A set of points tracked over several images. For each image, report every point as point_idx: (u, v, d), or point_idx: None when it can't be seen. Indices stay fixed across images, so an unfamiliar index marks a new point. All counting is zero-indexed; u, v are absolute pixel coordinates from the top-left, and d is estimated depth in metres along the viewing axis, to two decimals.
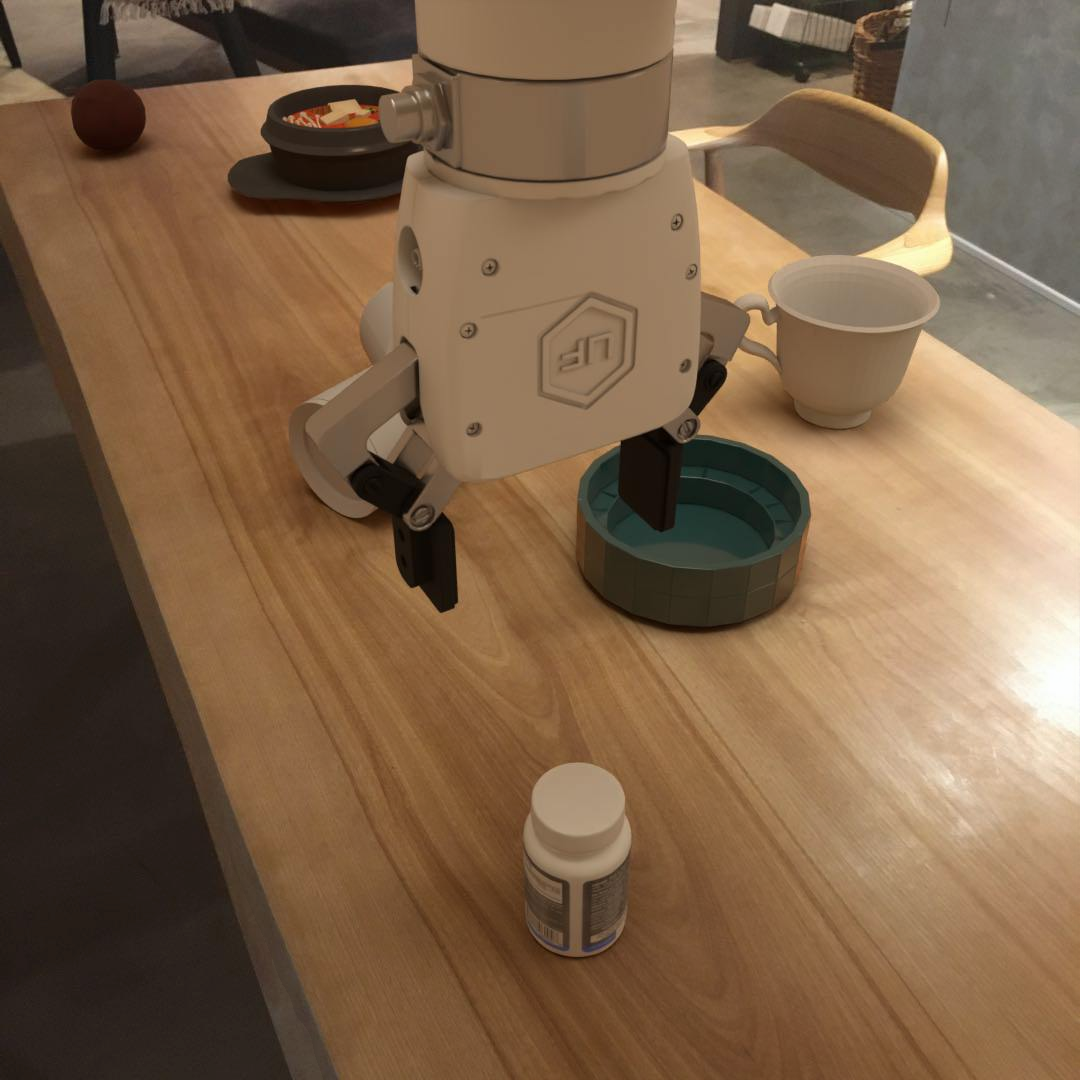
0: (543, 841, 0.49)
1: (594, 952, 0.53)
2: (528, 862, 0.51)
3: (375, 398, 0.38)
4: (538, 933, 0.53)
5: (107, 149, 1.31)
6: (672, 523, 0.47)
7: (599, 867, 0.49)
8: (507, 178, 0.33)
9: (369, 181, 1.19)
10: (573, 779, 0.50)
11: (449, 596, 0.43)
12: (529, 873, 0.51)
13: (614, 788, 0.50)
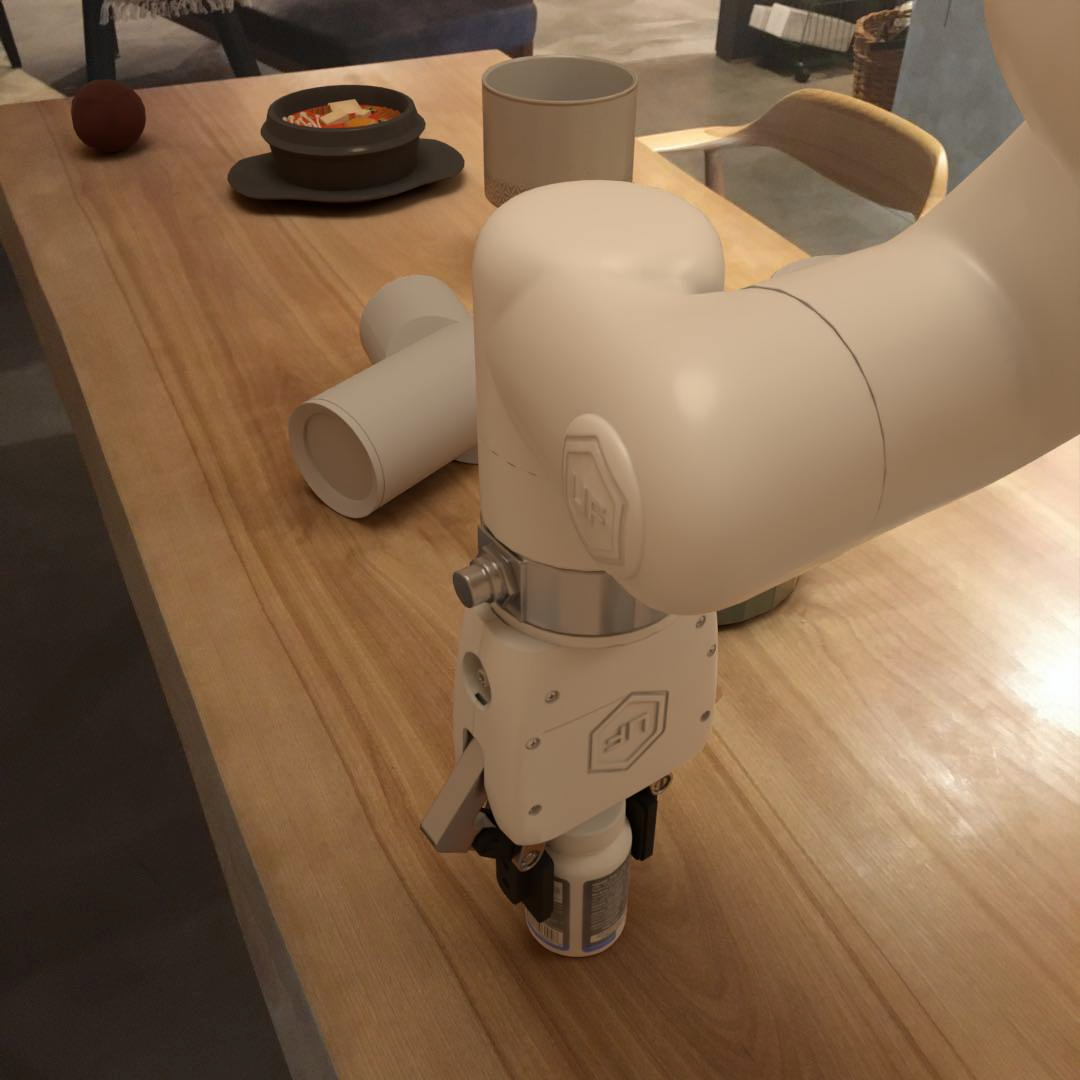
0: None
1: (594, 952, 0.53)
2: None
3: (466, 801, 0.44)
4: (538, 932, 0.53)
5: (107, 149, 1.31)
6: (650, 853, 0.53)
7: (600, 867, 0.49)
8: (567, 634, 0.39)
9: (369, 181, 1.19)
10: None
11: (547, 910, 0.50)
12: None
13: None
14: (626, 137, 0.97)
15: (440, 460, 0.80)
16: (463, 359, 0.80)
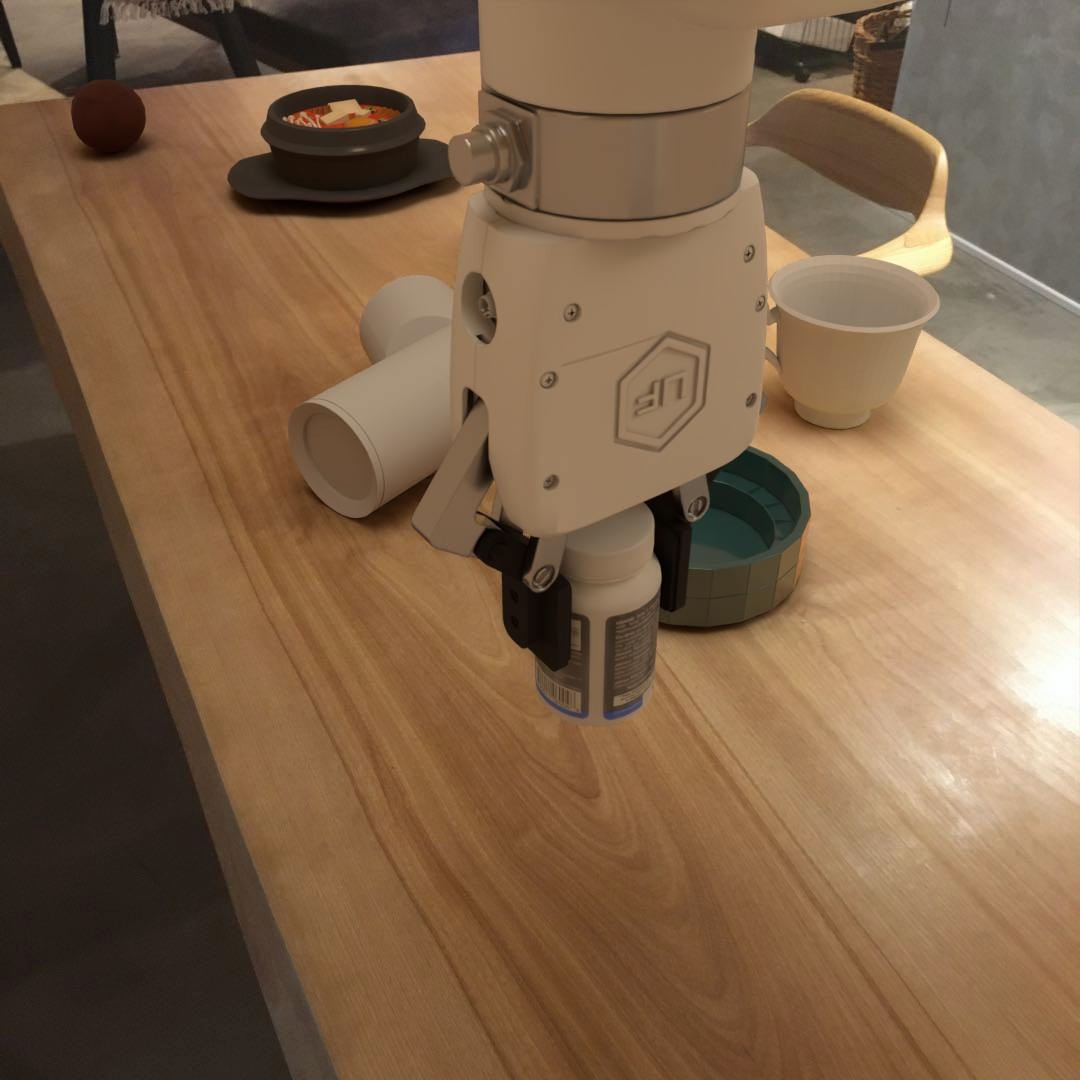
0: None
1: (617, 720, 0.45)
2: None
3: (467, 479, 0.36)
4: (552, 699, 0.45)
5: (107, 149, 1.31)
6: (683, 602, 0.45)
7: (625, 599, 0.42)
8: (591, 218, 0.31)
9: (369, 181, 1.19)
10: None
11: (563, 654, 0.42)
12: None
13: (641, 510, 0.42)
14: None
15: (440, 460, 0.80)
16: None
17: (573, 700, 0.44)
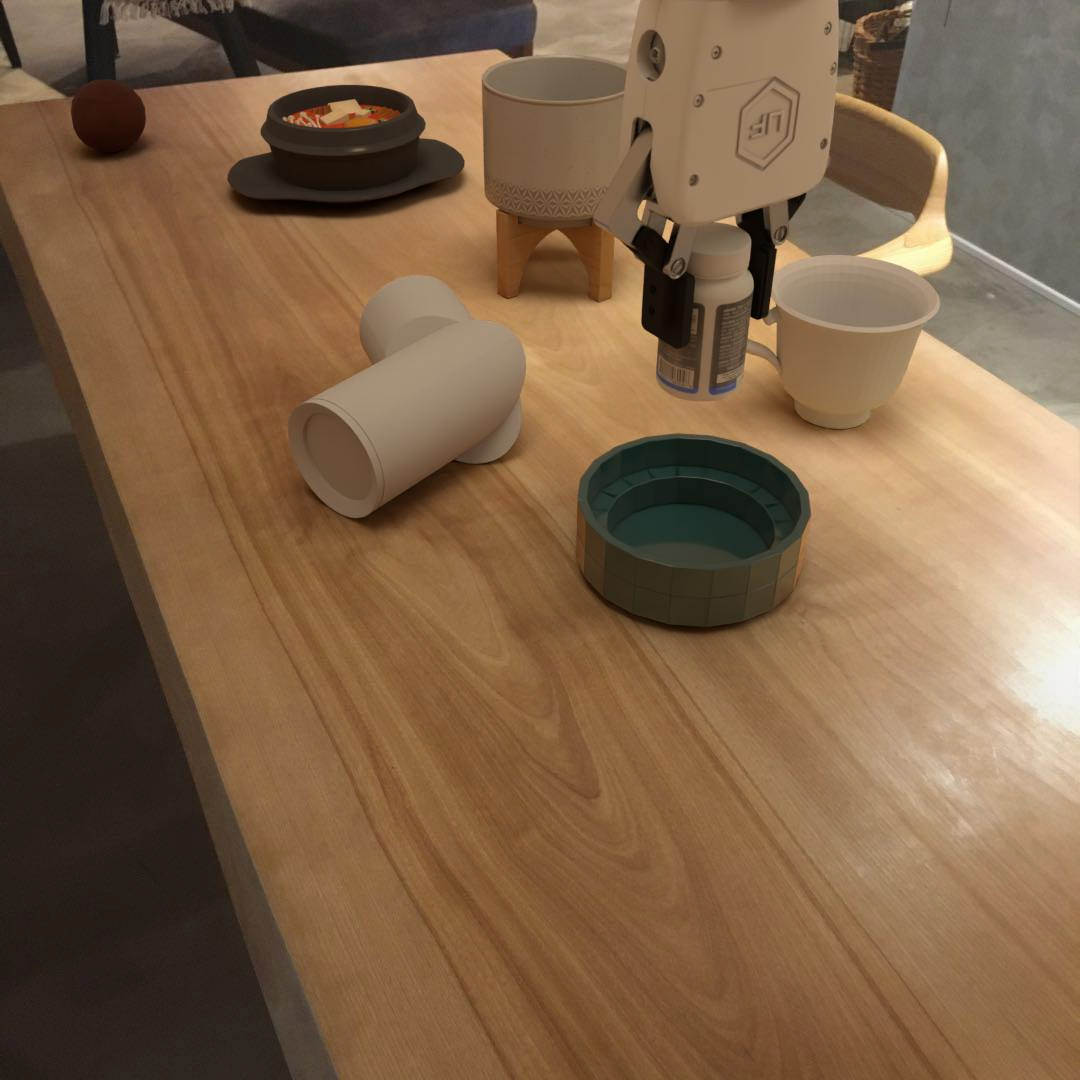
0: None
1: (718, 396, 0.62)
2: None
3: (635, 182, 0.54)
4: (671, 381, 0.63)
5: (107, 149, 1.31)
6: (767, 312, 0.62)
7: (730, 292, 0.59)
8: None
9: (369, 181, 1.19)
10: (706, 229, 0.60)
11: (686, 334, 0.60)
12: None
13: (741, 233, 0.60)
14: None
15: (440, 460, 0.80)
16: (463, 359, 0.80)
17: (687, 378, 0.62)
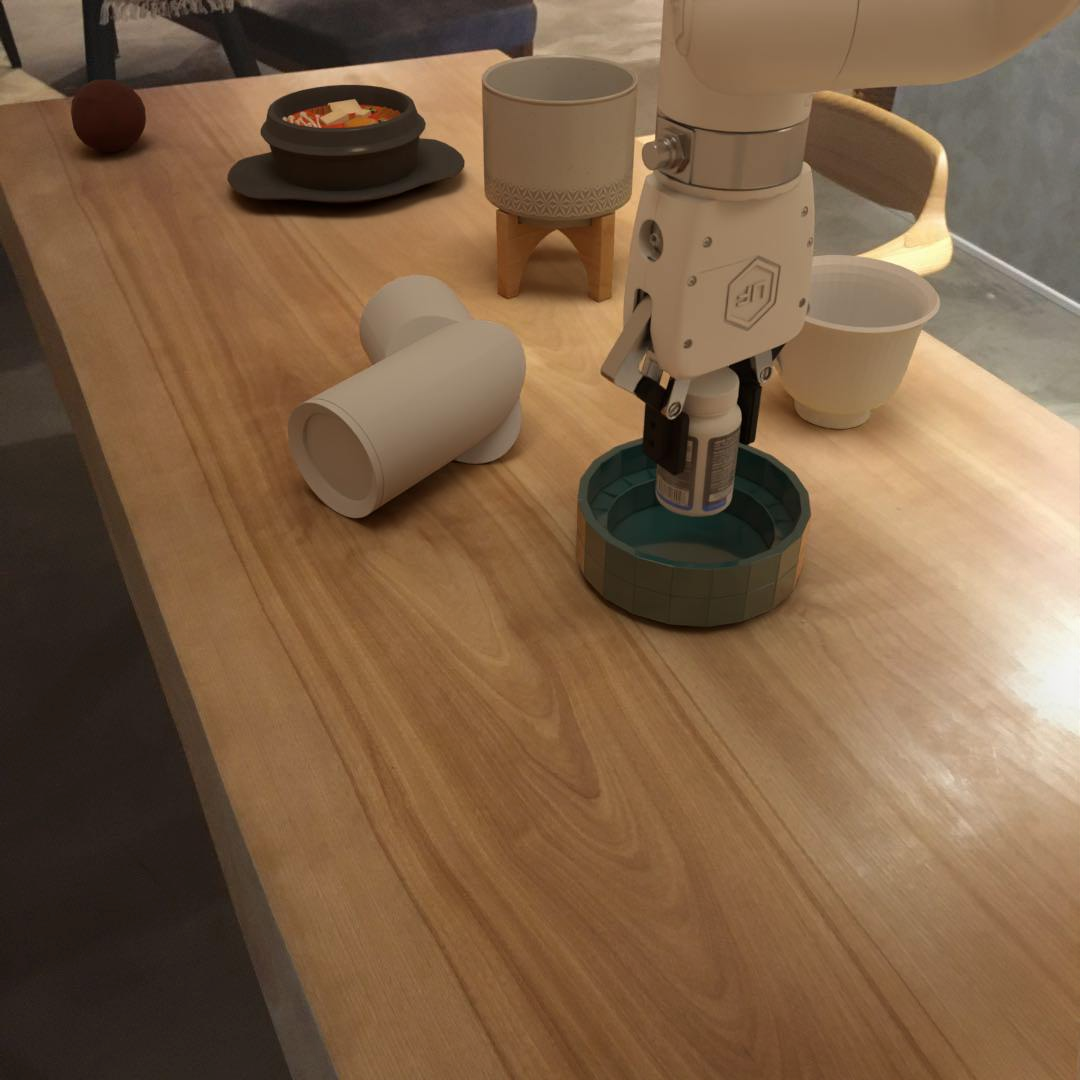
0: None
1: (710, 512, 0.71)
2: None
3: (637, 343, 0.62)
4: (669, 498, 0.71)
5: (107, 149, 1.31)
6: (753, 438, 0.70)
7: (720, 427, 0.67)
8: (721, 188, 0.57)
9: (369, 181, 1.19)
10: None
11: (681, 463, 0.68)
12: None
13: (730, 373, 0.68)
14: (626, 137, 0.97)
15: (440, 460, 0.80)
16: (463, 359, 0.80)
17: (683, 497, 0.70)
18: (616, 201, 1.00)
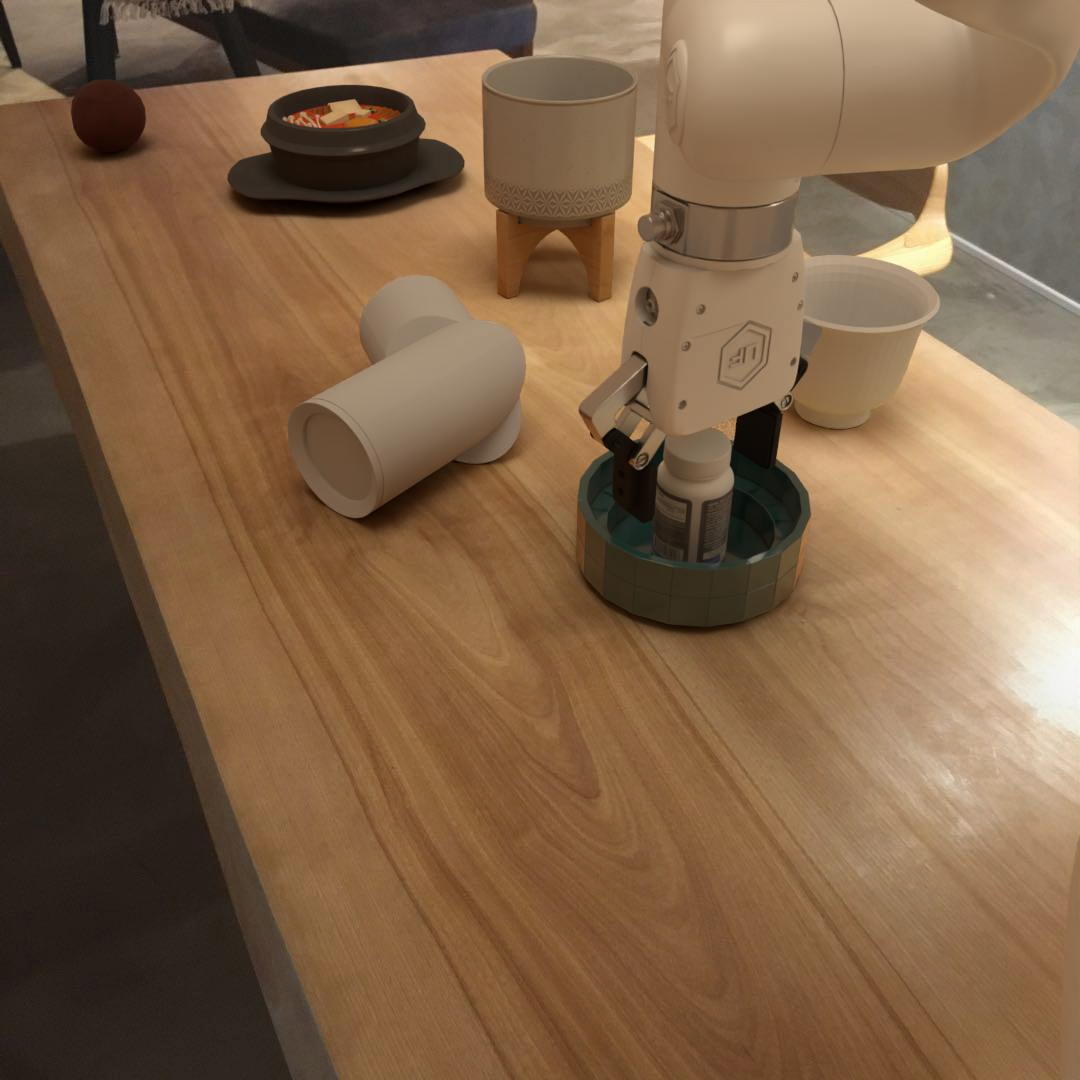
0: (674, 472, 0.70)
1: None
2: (660, 494, 0.71)
3: (623, 388, 0.63)
4: (664, 556, 0.73)
5: (107, 149, 1.31)
6: (774, 463, 0.73)
7: (714, 490, 0.70)
8: (714, 259, 0.59)
9: (369, 181, 1.19)
10: None
11: (650, 512, 0.68)
12: (660, 504, 0.72)
13: (723, 438, 0.70)
14: (626, 137, 0.97)
15: (440, 460, 0.80)
16: (463, 359, 0.80)
17: (678, 555, 0.73)
18: (616, 201, 1.00)
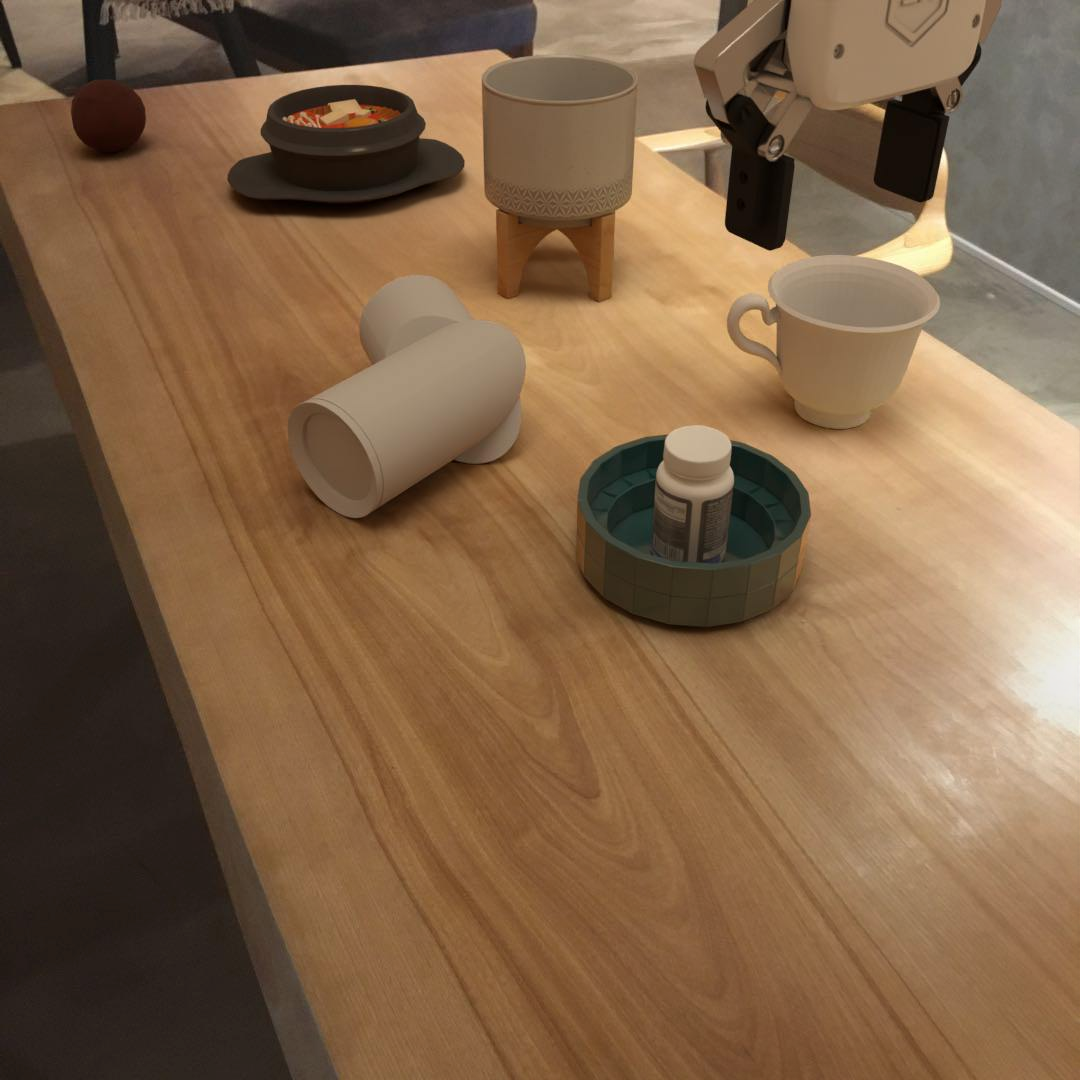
0: (674, 472, 0.70)
1: None
2: (660, 494, 0.71)
3: (757, 27, 0.45)
4: (664, 556, 0.73)
5: (107, 149, 1.31)
6: (932, 192, 0.55)
7: (714, 490, 0.70)
8: None
9: (369, 181, 1.19)
10: (693, 433, 0.71)
11: (781, 232, 0.51)
12: (660, 504, 0.72)
13: (723, 438, 0.70)
14: (626, 137, 0.97)
15: (440, 460, 0.80)
16: (463, 359, 0.80)
17: (678, 555, 0.73)
18: (616, 201, 1.00)
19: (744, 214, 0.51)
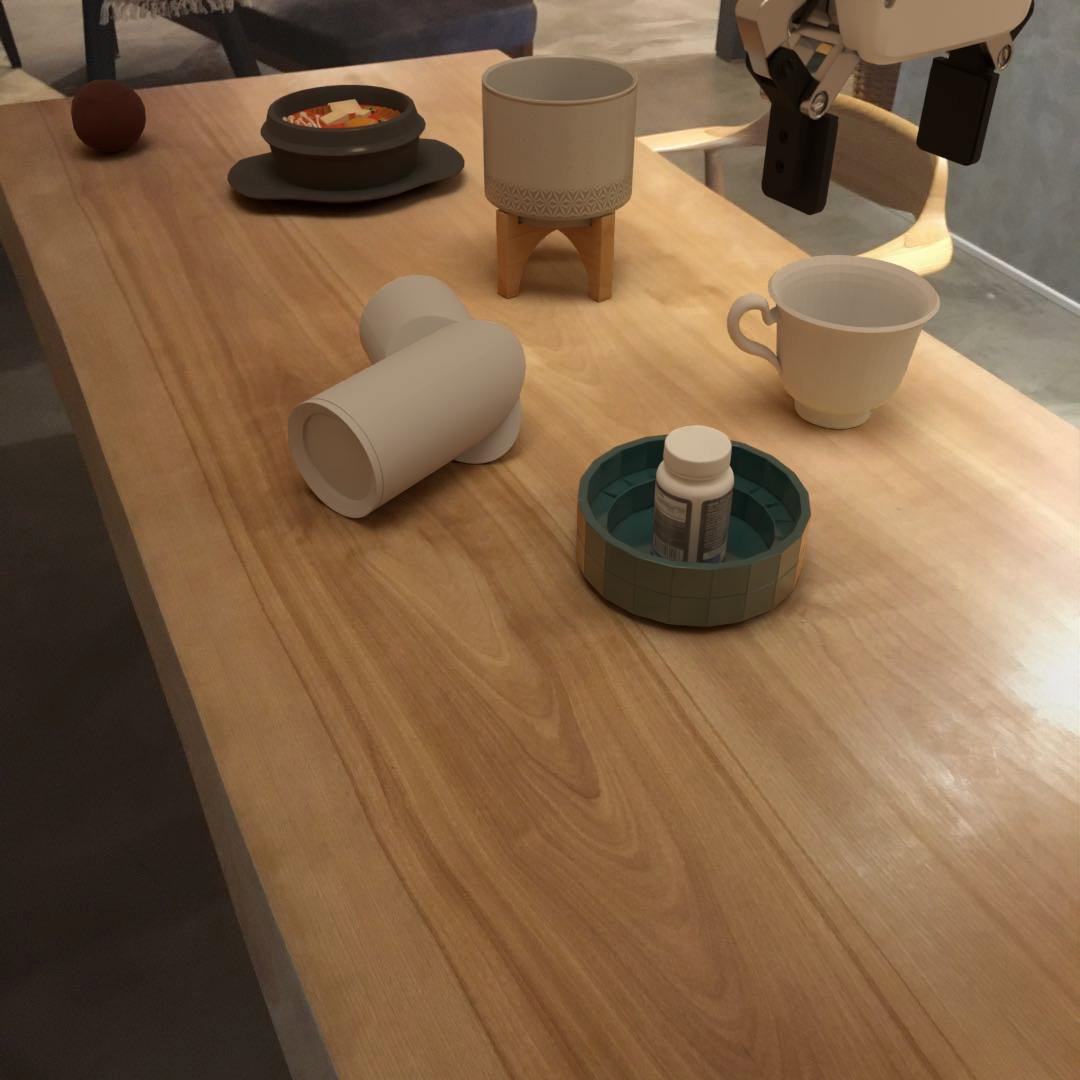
0: (674, 472, 0.70)
1: None
2: (660, 494, 0.71)
3: None
4: (664, 556, 0.73)
5: (107, 149, 1.31)
6: (979, 155, 0.52)
7: (714, 490, 0.70)
8: None
9: (369, 181, 1.19)
10: (693, 433, 0.71)
11: (822, 195, 0.48)
12: (660, 504, 0.72)
13: (723, 438, 0.70)
14: (626, 137, 0.97)
15: (439, 460, 0.80)
16: (463, 359, 0.80)
17: (678, 555, 0.73)
18: (616, 201, 1.00)
19: (783, 176, 0.48)
